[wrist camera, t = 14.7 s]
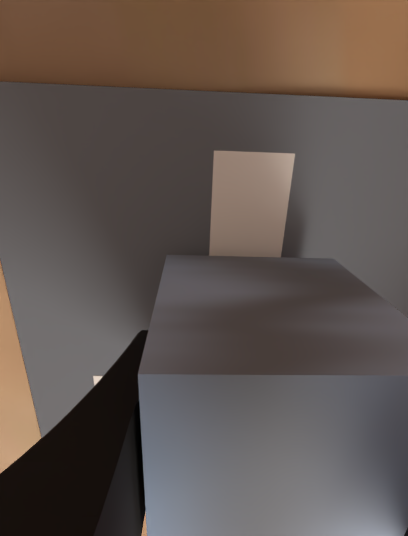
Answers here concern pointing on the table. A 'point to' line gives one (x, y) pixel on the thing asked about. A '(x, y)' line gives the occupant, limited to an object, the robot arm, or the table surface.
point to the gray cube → (273, 401)
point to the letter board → (179, 206)
